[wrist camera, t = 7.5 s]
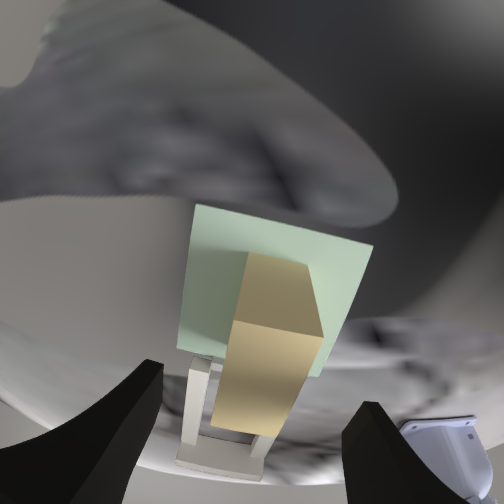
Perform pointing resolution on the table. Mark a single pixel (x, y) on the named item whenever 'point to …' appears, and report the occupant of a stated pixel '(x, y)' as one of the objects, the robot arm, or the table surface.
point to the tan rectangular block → (268, 347)
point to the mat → (233, 266)
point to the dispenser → (211, 449)
